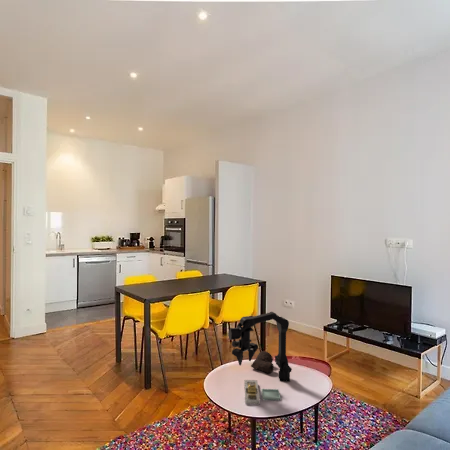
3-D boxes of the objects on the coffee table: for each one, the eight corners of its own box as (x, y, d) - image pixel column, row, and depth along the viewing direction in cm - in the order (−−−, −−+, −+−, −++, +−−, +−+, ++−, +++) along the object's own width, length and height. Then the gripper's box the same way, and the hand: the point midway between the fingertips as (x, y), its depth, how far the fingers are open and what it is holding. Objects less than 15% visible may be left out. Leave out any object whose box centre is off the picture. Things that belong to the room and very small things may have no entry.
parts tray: (278, 391, 213) (278, 389, 212) (280, 400, 203) (280, 397, 202) (261, 391, 213) (261, 388, 213) (262, 399, 203) (262, 397, 203)
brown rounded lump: (268, 364, 234) (277, 353, 247) (248, 360, 242) (258, 349, 255) (270, 378, 236) (279, 366, 248) (250, 373, 244) (259, 362, 256)
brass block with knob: (255, 393, 210) (255, 381, 210) (255, 397, 206) (256, 385, 206) (247, 393, 210) (247, 381, 210) (247, 397, 206) (248, 384, 206)
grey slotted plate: (257, 384, 222) (257, 380, 222) (259, 404, 198) (259, 399, 198) (244, 383, 222) (244, 379, 222) (245, 403, 198) (245, 399, 198)
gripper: (245, 331, 233) (244, 355, 233) (225, 338, 219) (225, 363, 220) (258, 335, 225) (258, 360, 225) (239, 343, 212) (238, 369, 212)
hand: (245, 363), depth 221 cm, fingers open, 9 cm apart
